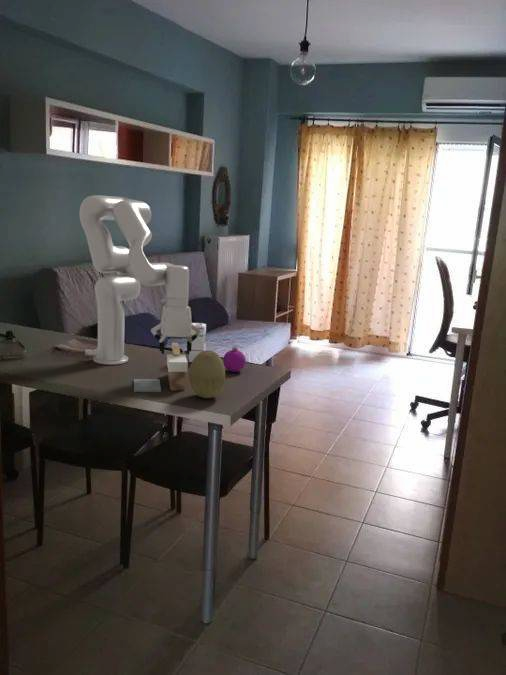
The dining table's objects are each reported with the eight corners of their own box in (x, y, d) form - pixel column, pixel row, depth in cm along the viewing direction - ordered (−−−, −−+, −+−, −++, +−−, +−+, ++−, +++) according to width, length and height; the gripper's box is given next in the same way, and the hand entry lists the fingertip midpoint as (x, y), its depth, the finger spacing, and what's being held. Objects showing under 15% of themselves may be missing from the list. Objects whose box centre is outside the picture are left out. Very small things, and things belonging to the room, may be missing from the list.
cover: (168, 371, 188) (168, 362, 187) (166, 363, 197) (167, 354, 197) (187, 371, 189) (187, 362, 188) (184, 363, 199) (185, 354, 198)
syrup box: (203, 363, 223) (205, 326, 220) (188, 362, 223) (189, 325, 220) (205, 360, 229) (206, 323, 226) (190, 359, 229) (191, 322, 226)
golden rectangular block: (173, 367, 196) (173, 348, 195) (171, 360, 205) (171, 342, 203) (179, 367, 197) (179, 348, 195) (177, 360, 205) (177, 342, 204)
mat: (133, 391, 185) (134, 390, 185) (133, 380, 197) (133, 379, 196) (161, 391, 187) (161, 390, 187) (159, 380, 198) (159, 379, 198)
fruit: (181, 398, 181) (183, 351, 178) (197, 389, 192) (199, 344, 188) (215, 405, 177) (217, 356, 174) (230, 395, 188) (232, 349, 185)
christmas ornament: (222, 368, 219) (223, 341, 217) (244, 368, 220) (245, 342, 218) (222, 374, 211) (224, 347, 209) (245, 375, 212) (247, 347, 210)
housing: (170, 390, 189) (171, 372, 188) (167, 375, 206) (168, 358, 204) (184, 390, 190) (185, 372, 188) (180, 375, 206) (180, 358, 205)
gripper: (150, 303, 192) (149, 355, 196) (204, 305, 196) (202, 356, 200) (150, 300, 200) (149, 350, 203) (201, 301, 203) (199, 350, 207)
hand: (175, 353), depth 201 cm, fingers open, 8 cm apart
